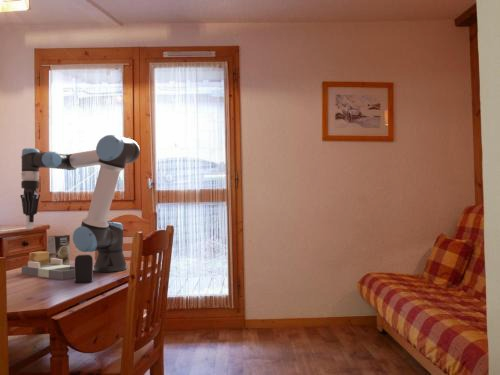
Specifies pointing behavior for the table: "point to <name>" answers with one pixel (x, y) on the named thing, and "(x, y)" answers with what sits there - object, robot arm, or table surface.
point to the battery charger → (83, 268)
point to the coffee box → (59, 248)
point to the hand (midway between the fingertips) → (29, 228)
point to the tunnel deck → (50, 270)
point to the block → (39, 257)
